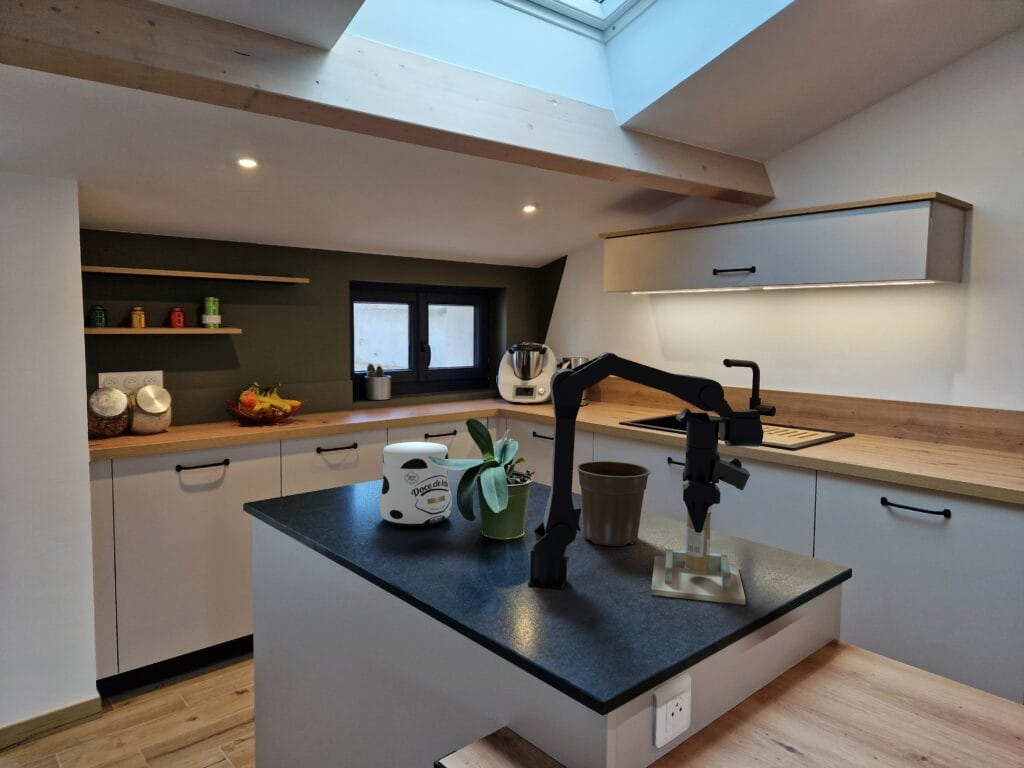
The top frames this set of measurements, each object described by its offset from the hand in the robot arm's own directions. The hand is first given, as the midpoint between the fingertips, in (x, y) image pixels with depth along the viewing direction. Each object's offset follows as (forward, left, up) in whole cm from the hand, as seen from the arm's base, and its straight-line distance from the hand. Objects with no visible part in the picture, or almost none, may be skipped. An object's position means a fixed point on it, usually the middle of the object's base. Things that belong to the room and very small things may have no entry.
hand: (698, 528), depth 126 cm
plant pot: (-18, +22, -11) cm, 30 cm away
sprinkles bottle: (0, 0, -8) cm, 8 cm away
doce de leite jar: (-65, +22, -11) cm, 69 cm away
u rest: (0, 0, -10) cm, 10 cm away
